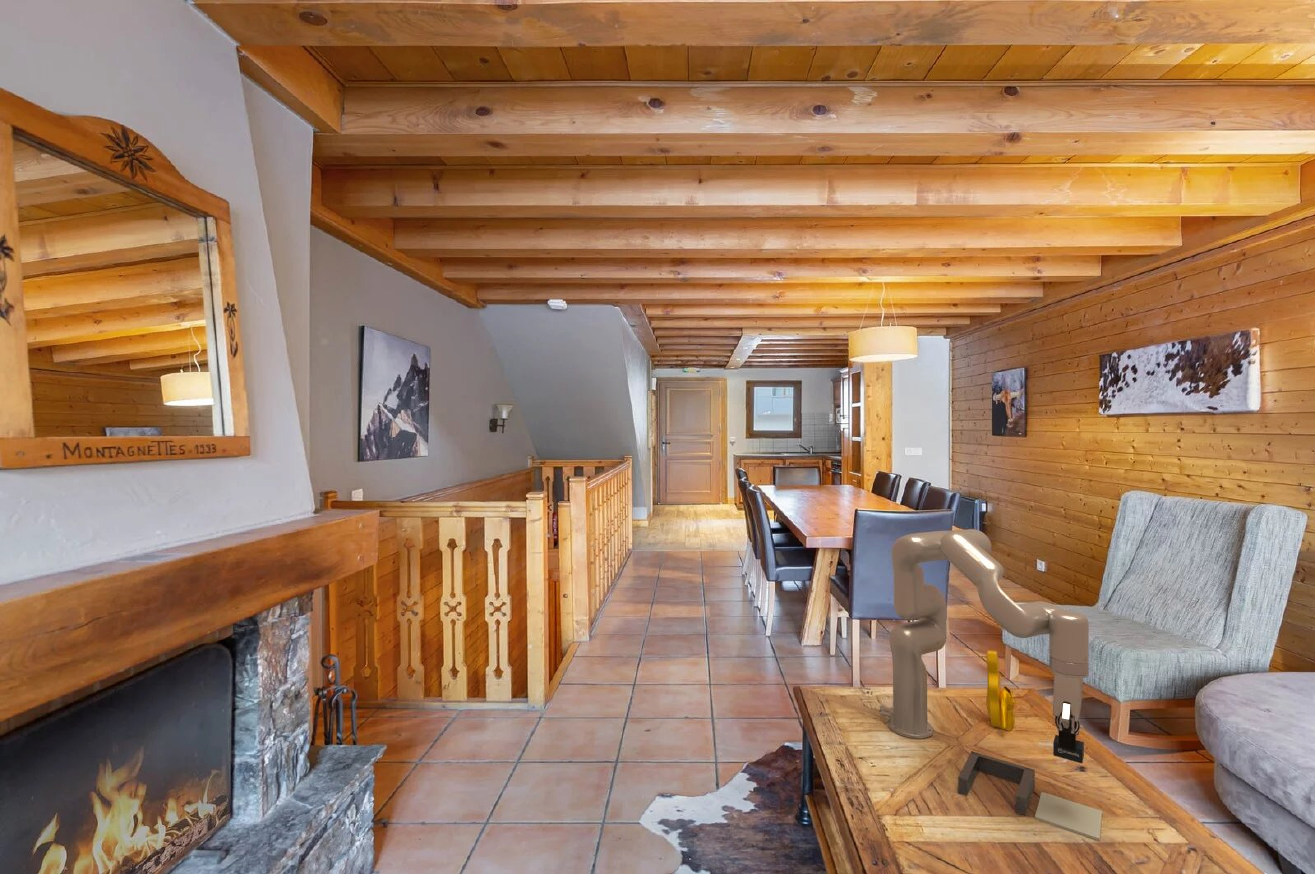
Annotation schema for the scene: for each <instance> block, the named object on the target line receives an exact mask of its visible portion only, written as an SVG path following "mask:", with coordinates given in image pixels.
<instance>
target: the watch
mask: <svg viewBox="0 0 1315 874" xmlns="http://www.w3.org/2000/svg"><path fill="white" fill-rule="evenodd" d="M1070 709H1071V707H1070ZM1062 716H1063V714H1062ZM1069 718H1073V716H1070V717H1069ZM1069 723H1070V724H1071V725H1072V722H1070V721H1069ZM1054 724H1055V727H1056V730H1057V733H1058V734H1055V735H1054V739H1053V743H1052V744H1053V745H1052V746H1053V753H1052V755H1053V756H1054V757H1057V758H1061V759H1064V760H1067V761H1072V762H1074V763H1078V764H1083V763H1084V755H1085V743H1084V741H1080V740H1077V739H1076V750H1075V751H1072V750H1068V749H1065V748H1061V747H1059V727H1060V715H1059V717H1058V716H1056V717H1055V716H1054ZM1080 729H1081V730H1083V729H1084V725H1082V724H1081V722H1080V718H1079V719H1078V721H1076V722H1075V729H1074V732H1075V733H1076V737H1078V735H1077V734H1078V732H1079V733H1080Z"/></svg>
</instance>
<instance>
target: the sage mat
mask: <svg viewBox="0 0 1315 874" xmlns="http://www.w3.org/2000/svg"><path fill="white" fill-rule="evenodd" d="M1102 817H1103V810H1100V809H1097V808H1094V807H1090V806H1088V805H1084V804H1082V803H1079V802H1075V801H1072V800H1069V799H1066V798H1064V797H1063V798H1062V797H1059V796H1056V795H1052V794H1049V793H1046V792H1044V791H1043V792H1042V791H1041V792H1040V797H1039V800H1038V803H1037V808H1036V811H1035V815H1034V819H1035V820H1036V821H1039V822H1043V823H1045V824H1048V825H1051V826H1053V827H1054V826H1055V827H1056V828H1060V829H1062V830H1065V831H1068V832H1071V833H1073V834H1074V833H1075V834H1077V835H1081V836H1084V837H1087V838H1090V839H1093V840H1096V841H1098V842H1100V840H1101V829H1102Z"/></svg>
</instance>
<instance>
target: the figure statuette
mask: <svg viewBox="0 0 1315 874" xmlns="http://www.w3.org/2000/svg"><path fill="white" fill-rule="evenodd" d="M998 655H999V653H998V651H996V650H990V649H989V650H987V652H986V656H985V657H986V669H987V685H986V686H987V690H986V700H985V704H986V708H987V711H988V714H989V717H990V722H991V723H990V724H991V727H994V728H997V729H998V728H1000V729H1002V730H1004V731H1008V732H1011V731H1013V728H1014V726H1015V722H1016V719H1015V714H1014V707H1015V704H1016V700H1015V698H1014V696H1013V695H1014V694H1013V691H1012V690H1011V689H1010V688H1009V687H1008V685H1007V686H1006V685H1005V686H1004V685H1003V686H1002V683H1001V677H1000V672H999V671H1000V670H999V669H1000V668H999V656H998Z"/></svg>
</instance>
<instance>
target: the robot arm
mask: <svg viewBox="0 0 1315 874" xmlns="http://www.w3.org/2000/svg"><path fill="white" fill-rule="evenodd" d="M890 551H891V562H892V563H891V564H892V568H893V569H892V570H893V606H894V612H895V613H896V615H897V616H898V617H899V618H900V619H903V620H908V622H904V623H901V624H898V625H896V626H894V627H893V628H892V629H891V630H890V632H889V635H888V641H889V648H890V652H891V658H892V707H890V708H889V707H887V706H885V705H879V707H878V708H879V709H878V710H879V711H878V712H880V716H883V717H886V718H888V719H887V726H888V729H890V731H891V732H893V733H894V734H897V735H900V736H902V737H905V738H910V739H919V740H920V739H927V738H929V737H930V736H932V735H933V734H934V727H933V726H932V725H931V723H929V722H928V671H927V670H928V669H927V667H926V664H925V663H924V661H923V659H922V656H923V655H926V654H930V653H935V652H938V651H940V650H942V649H943V648H944V646H945V645H946V642H947V636H948V635H947V603H946V599H945V596H944V594H943V593H942V591H941V590H940V588H938V587H937V586H936V585H934V584H931V583H925V573H924V570H923V568H922V566H921V564H920V563H928V562H929V563H930V562H937V561H943V560H948V562H949V563H951V565H952V566H953V567H955V568H956V570H957V571H959V572H960V573H961V574H962V575H963V576H964V577H965V578H967V580H969V582H971V583H972V584H973V585H974V586H975V587H976V589H977V594H978V597H979V600H980V603H981V604H982V606H983V609H984V611H985V612H986V614H988V616H989V617H991V618H992V619H993V620H994V622H995V623H997V624H998V625H999V627H1001V628H1002V629H1003V630H1004V631H1006V632H1007V633H1009V634H1010V635H1012V636H1013V637H1016V638H1020V639H1028V638H1033V637H1037V636H1042V635H1043V636H1044V635H1048V641H1049V643H1048V645H1049V647H1048V650H1049V651H1048V653H1049V655H1048V657H1049V659H1048V660H1049V662H1048V663H1049V664H1048V665H1049V670H1050V671H1051V672H1052V673H1053V675H1054V676H1053V688H1052V691H1053V697H1052V700H1053V701H1052V715H1053V717H1054V718H1055V717H1056V716H1058V717H1059V715H1060V727H1059V733H1058V735H1059V747H1061V748H1065V749H1068V750H1072V751H1075V750H1076V740H1077V736H1079V734H1080V731H1079V732H1078V734H1077V736H1076V733H1075V732H1074V729H1075V722H1076V721H1078V719H1079V720H1080V714H1081V709H1082V701H1083V679H1085V678H1089V674H1090V672H1089V669H1090V668H1089V667H1090V663H1089V662H1090V661H1089V653H1090V652H1089V646H1090V644H1089V641H1090V640H1089V635H1090V634H1089V628H1090V627H1089V619H1088V617H1087V616H1086V615H1085V614H1083V613H1081V612H1080V611H1079V612H1078V611H1076V610H1071V609H1069V610H1068V609H1064V608H1061V607H1059V606H1057V605H1055V604H1052V603H1049V602H1047V601H1041V600H1039V601H1038V600H1037V601H1032V602H1026V603H1022V604H1018V603H1016V602H1015V601H1014V600H1013V599H1012V598H1010V596H1008V595H1007V593H1005V591H1003V589H1002V588H1001V585H1000V584H999V582H1000V580H1001V579H1002V578H1003V576H1004V573H1005V572H1004V570H1005V569H1004V567H1003V565H1002V564H1001V563H999V561H997V560H996V559H995V558H994V557H993V556H992V555H990V553H991V551H992V543H991V539H989V537H988V536H987V534H985V533H984V532H982V531H980V530H978V529H975V528H970V529H969V528H968V529H954V530H936V531H935V530H934V531H925V532H924V531H923V532H915V533H911V534H910V533H909V534H906V535H903V536H901V537H898V538H897V539H896V540H895V541H894V542H893V545H892V548H891V550H890ZM909 620H911V621H910V622H909ZM912 620H915V621H912ZM1070 707H1071V709H1070ZM1062 714H1063V716H1062ZM1070 716H1073V718H1069V717H1070ZM1069 721H1070V722H1072V725H1071V724H1070V723H1069Z"/></svg>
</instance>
